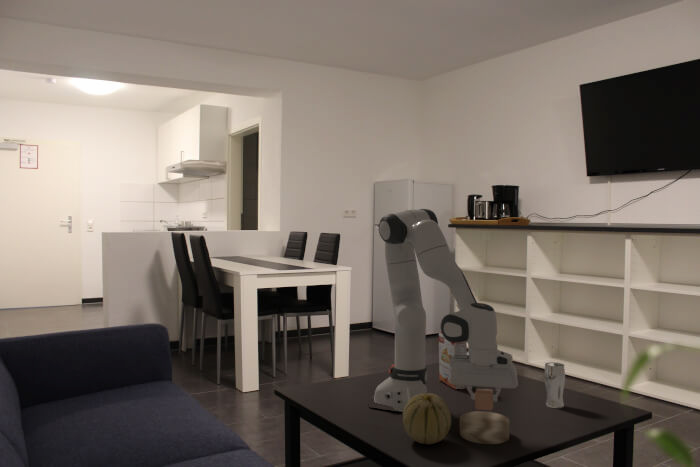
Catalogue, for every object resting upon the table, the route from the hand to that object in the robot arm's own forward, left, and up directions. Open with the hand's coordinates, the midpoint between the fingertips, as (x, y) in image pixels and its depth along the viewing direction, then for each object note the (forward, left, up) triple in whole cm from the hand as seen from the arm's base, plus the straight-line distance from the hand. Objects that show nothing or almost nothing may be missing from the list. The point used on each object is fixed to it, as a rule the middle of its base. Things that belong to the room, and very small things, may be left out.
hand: (484, 400), depth 173 cm
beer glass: (+22, +37, -11) cm, 45 cm away
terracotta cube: (0, 0, -2) cm, 2 cm away
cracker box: (-17, +54, -11) cm, 58 cm away
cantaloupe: (-16, -11, -11) cm, 22 cm away
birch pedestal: (0, 0, -11) cm, 11 cm away
